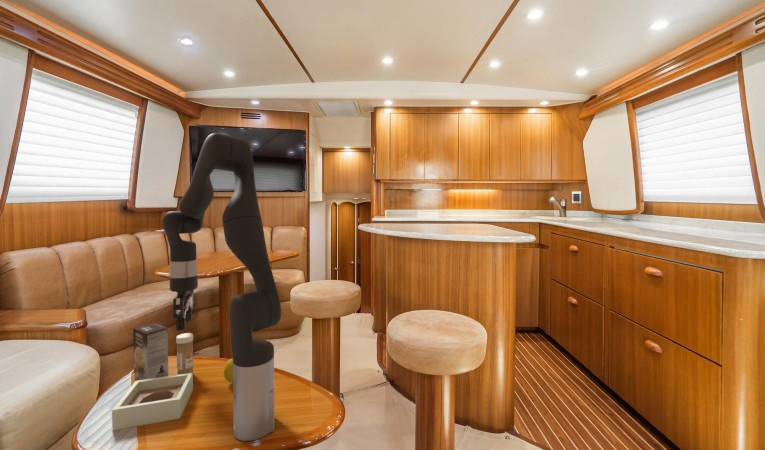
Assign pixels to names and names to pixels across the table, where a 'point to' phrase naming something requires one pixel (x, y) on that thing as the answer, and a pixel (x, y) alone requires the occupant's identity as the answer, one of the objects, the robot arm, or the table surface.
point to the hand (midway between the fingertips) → (184, 325)
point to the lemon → (229, 370)
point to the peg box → (153, 401)
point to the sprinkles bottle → (185, 353)
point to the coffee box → (150, 351)
